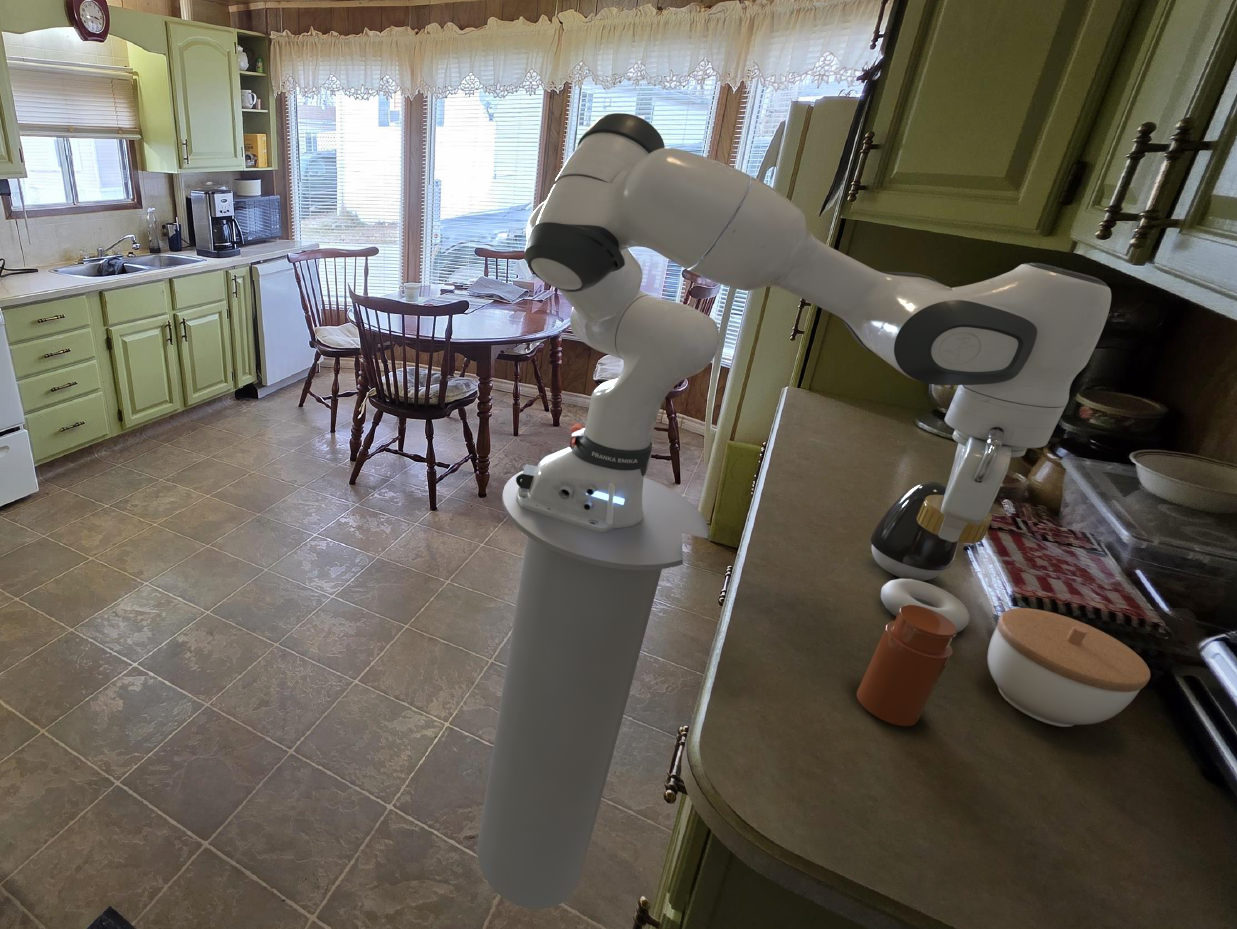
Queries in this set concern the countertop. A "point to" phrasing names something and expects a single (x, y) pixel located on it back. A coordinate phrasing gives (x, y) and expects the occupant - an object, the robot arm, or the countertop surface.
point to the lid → (934, 518)
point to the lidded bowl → (1062, 668)
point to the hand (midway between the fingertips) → (950, 525)
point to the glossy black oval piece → (911, 538)
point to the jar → (907, 665)
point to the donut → (924, 600)
